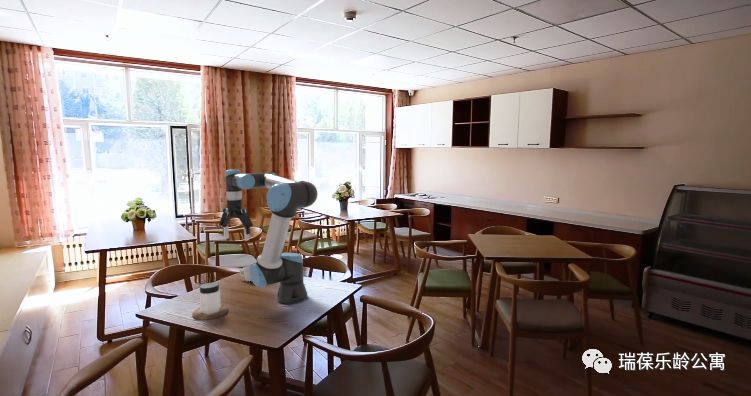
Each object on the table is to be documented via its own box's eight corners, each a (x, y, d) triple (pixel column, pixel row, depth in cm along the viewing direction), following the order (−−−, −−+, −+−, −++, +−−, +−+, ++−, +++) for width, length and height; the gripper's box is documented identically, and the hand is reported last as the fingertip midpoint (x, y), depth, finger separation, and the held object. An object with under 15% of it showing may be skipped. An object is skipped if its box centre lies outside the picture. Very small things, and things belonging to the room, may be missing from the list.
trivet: (234, 309, 183) (234, 306, 183) (210, 322, 169) (210, 319, 169) (210, 305, 188) (210, 303, 188) (185, 317, 175) (184, 314, 174)
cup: (236, 282, 224) (236, 268, 224) (243, 278, 232) (242, 265, 231) (254, 282, 223) (253, 269, 222) (260, 278, 230) (259, 265, 230)
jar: (196, 312, 176) (194, 287, 175) (210, 306, 184) (208, 281, 183) (211, 315, 173) (210, 289, 172) (224, 308, 181) (223, 283, 179)
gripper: (258, 199, 200) (260, 239, 202) (221, 198, 209) (223, 236, 211) (248, 200, 193) (250, 242, 195) (210, 199, 202) (212, 239, 205)
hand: (236, 239), depth 203 cm, fingers open, 13 cm apart
